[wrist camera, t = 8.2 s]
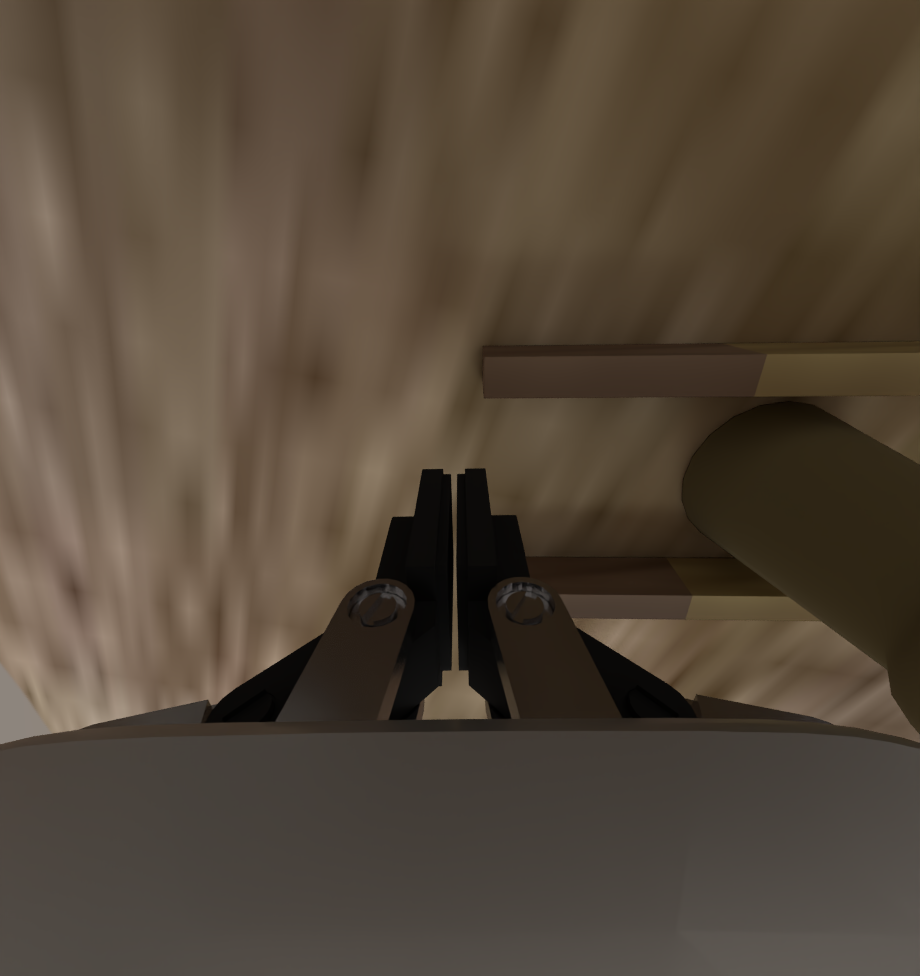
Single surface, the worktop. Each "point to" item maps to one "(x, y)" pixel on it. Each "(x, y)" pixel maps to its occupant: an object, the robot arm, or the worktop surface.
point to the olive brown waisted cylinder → (821, 526)
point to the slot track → (688, 373)
